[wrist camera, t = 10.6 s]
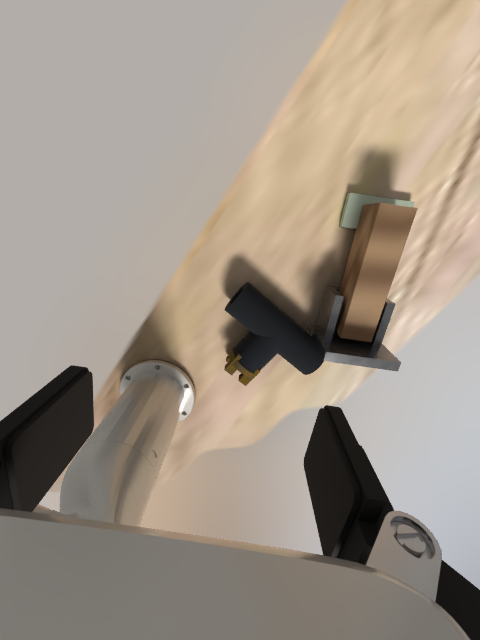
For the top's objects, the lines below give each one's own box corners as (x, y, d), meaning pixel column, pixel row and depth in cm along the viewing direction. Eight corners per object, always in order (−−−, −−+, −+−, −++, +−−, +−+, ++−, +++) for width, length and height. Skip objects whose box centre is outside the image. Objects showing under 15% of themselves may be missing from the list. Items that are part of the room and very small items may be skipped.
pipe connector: (273, 409, 40) (193, 349, 37) (270, 388, 45) (199, 334, 42) (331, 357, 37) (248, 286, 34) (321, 341, 42) (248, 278, 39)
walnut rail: (357, 327, 39) (371, 342, 35) (330, 323, 39) (340, 337, 35) (394, 209, 34) (417, 208, 29) (363, 204, 34) (380, 202, 29)
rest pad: (399, 235, 36) (403, 235, 35) (339, 226, 36) (341, 226, 35) (410, 202, 34) (414, 201, 33) (347, 193, 34) (350, 192, 33)
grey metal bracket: (368, 339, 41) (397, 371, 33) (309, 331, 41) (323, 360, 33) (383, 294, 38) (419, 315, 30) (320, 285, 38) (339, 304, 30)
